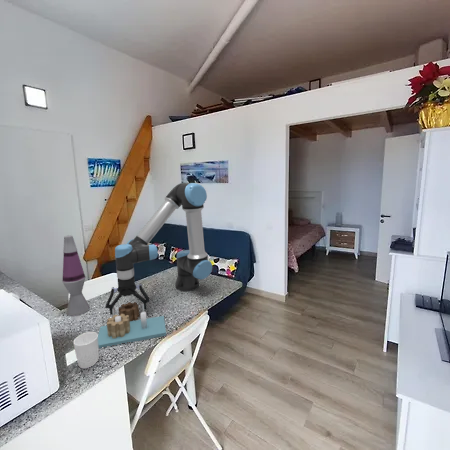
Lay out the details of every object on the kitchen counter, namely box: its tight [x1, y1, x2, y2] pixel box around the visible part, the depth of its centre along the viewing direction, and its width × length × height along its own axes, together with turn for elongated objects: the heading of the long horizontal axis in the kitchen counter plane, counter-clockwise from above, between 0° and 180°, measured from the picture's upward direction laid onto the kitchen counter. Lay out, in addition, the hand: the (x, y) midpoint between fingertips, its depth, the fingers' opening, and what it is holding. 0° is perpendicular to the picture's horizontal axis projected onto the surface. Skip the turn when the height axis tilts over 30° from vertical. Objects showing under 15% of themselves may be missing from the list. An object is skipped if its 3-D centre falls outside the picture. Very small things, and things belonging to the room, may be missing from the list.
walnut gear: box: [118, 301, 140, 321], centre depth 122 cm, size 9×9×6 cm
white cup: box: [73, 331, 100, 370], centre depth 93 cm, size 8×8×10 cm
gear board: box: [97, 311, 167, 349], centre depth 110 cm, size 28×14×8 cm, turn 108°
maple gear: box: [106, 314, 130, 338], centre depth 109 cm, size 9×9×6 cm
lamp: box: [61, 234, 91, 317], centre depth 126 cm, size 11×11×40 cm
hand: (129, 317), depth 123 cm, fingers open, 13 cm apart
